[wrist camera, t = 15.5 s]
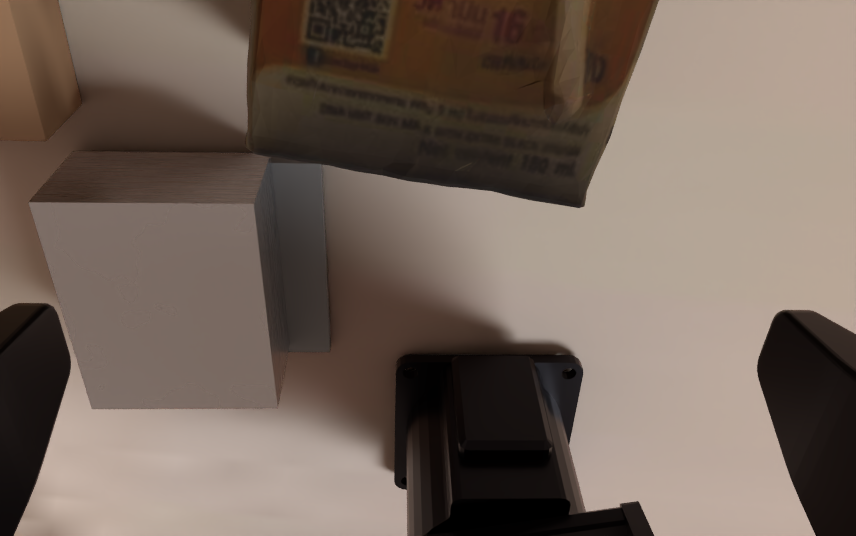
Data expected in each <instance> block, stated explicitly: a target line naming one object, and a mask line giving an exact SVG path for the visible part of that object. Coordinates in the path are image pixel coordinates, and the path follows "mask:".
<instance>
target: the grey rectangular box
mask: <svg viewBox="0 0 856 536" xmlns="http://www.w3.org/2000/svg"><path fill="white" fill-rule="evenodd" d="M28 203H29V206H30V209H31V213H32V216H33V219H34V222H35V226H36V229H37V232H38V235H39V239H40V242H41V245H42V248H43V251H44V255H45V258H46V261H47V264H48V268H49V271H50V274H51V277H52V281H53V284H54V287H55V290H56V294H57V297H58V300H59V303H60V307H61V310H62V313H63V316H64V320H65V323H66V326H67V329H68V333H69V336H70V339H71V342H72V346H73V349H74V352H75V355H76V358H77V362H78V365H79V368H80V371H81V375H82V378H83V381H84V384H85V388H86V391H87V394H88V397H89V401H90V404H91V407H92V409H240V408H278V404H279V399H280V394H281V388H282V383H283V378H284V373H285V368H286V362H287V357H288V352H289V347H290V341H289V331H288V321H287V311H286V301H285V291H284V281H283V271H282V261H281V250H280V240H279V230H278V220H277V210H276V200H275V190H274V180H273V170H272V160H271V157H266V156H261V155H257V154H254V153H213V152H113V151H73V152H72V153H71V154H70V155H69V156H68V157H67V159H66V160H65V161H64V162H63V163H62V164H61V165H60V167H59V168H58V169H57V170H56V171H55V172H54V173H53V175H52V176H51V177H50V178H49V179H48V180H47V181H46V183H45V184H44V185H43V186H42V187H41V188H40V190H39V191H38V192H37V193H36V194H35V195H34V196H33V198H32V199H31V200H30V201H29V202H28Z"/></svg>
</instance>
